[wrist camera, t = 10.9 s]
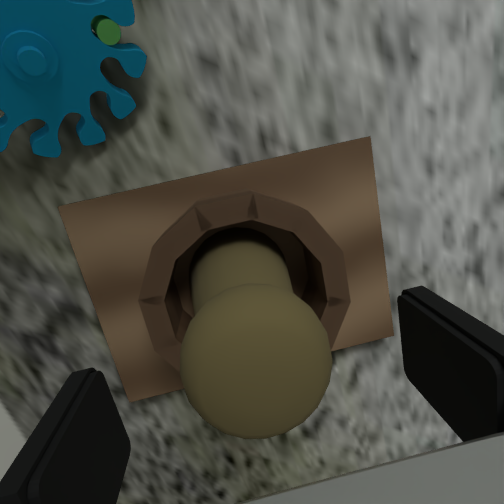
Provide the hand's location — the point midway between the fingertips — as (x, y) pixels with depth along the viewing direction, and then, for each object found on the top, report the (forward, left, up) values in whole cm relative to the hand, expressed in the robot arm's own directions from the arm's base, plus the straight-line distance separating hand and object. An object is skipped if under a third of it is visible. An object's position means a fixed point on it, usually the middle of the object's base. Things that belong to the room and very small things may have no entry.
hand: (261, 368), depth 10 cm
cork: (0, 0, -11) cm, 11 cm away
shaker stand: (+1, 0, -12) cm, 12 cm away
